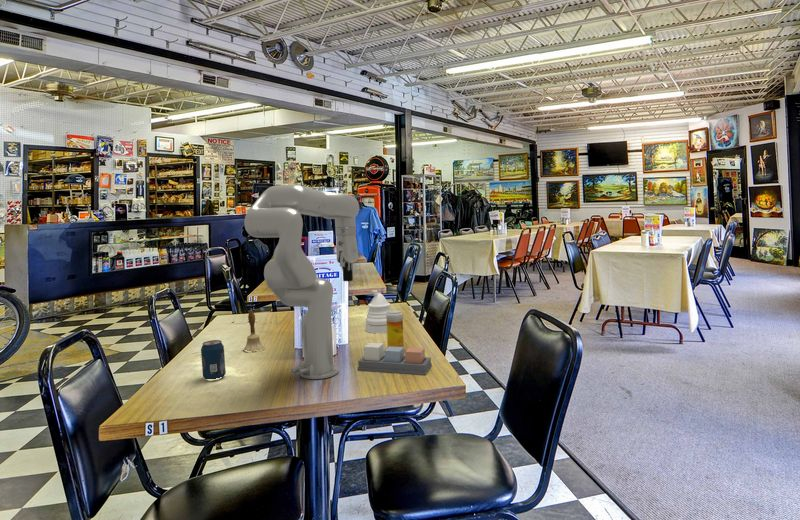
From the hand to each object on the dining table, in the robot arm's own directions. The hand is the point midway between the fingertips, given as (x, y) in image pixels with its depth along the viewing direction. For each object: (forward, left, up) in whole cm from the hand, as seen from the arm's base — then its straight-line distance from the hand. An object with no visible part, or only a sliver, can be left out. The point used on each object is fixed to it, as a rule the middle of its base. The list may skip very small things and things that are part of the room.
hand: (348, 280), depth 174 cm
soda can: (-48, +10, -27) cm, 56 cm away
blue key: (-2, -27, -25) cm, 37 cm away
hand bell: (-24, +32, -27) cm, 48 cm away
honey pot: (+29, +17, -27) cm, 43 cm away
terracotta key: (+2, -33, -25) cm, 42 cm away
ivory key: (-6, -21, -24) cm, 32 cm away
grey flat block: (-2, -27, -27) cm, 38 cm away
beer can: (+12, -12, -27) cm, 32 cm away
